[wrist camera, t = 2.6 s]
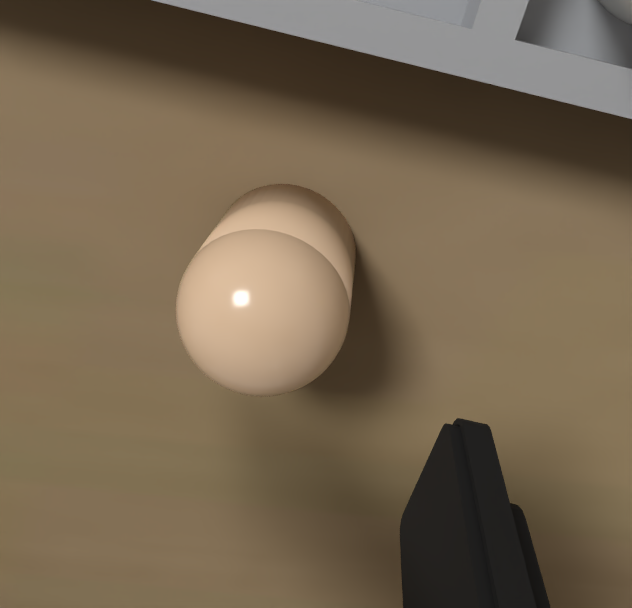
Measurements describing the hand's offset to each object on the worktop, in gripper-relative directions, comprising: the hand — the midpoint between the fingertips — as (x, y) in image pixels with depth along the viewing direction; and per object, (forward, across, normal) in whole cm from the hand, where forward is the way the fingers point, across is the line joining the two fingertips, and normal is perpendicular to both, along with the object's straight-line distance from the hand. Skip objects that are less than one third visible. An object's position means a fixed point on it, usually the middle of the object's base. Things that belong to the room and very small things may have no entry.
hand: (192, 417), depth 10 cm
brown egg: (+9, -1, +1) cm, 9 cm away
